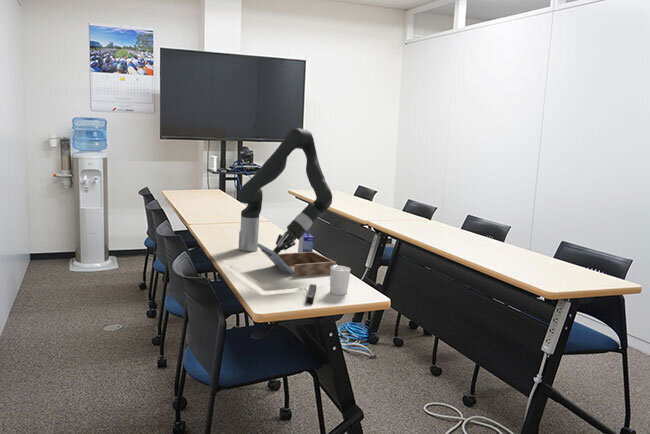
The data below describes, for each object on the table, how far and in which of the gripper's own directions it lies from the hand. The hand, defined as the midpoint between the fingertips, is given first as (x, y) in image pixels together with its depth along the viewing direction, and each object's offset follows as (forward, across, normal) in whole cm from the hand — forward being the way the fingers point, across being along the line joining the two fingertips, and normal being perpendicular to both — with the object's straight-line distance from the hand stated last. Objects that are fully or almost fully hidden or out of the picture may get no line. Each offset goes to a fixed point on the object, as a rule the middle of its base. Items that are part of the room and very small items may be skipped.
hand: (273, 254), depth 224 cm
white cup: (-3, +31, +17) cm, 35 cm away
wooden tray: (-5, 0, +18) cm, 18 cm away
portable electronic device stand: (+6, +32, +8) cm, 33 cm away
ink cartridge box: (-13, -21, +26) cm, 36 cm away
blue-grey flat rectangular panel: (+1, 0, +9) cm, 9 cm away
